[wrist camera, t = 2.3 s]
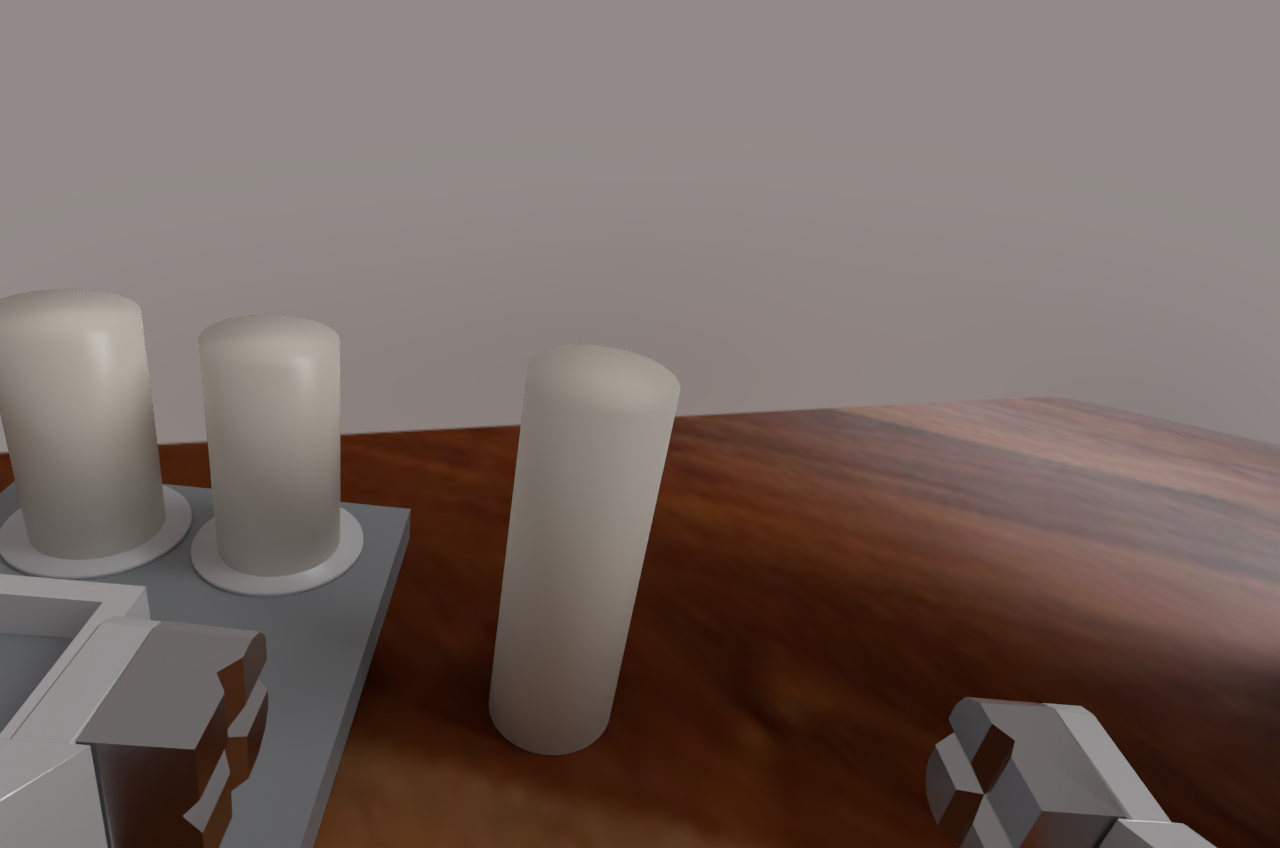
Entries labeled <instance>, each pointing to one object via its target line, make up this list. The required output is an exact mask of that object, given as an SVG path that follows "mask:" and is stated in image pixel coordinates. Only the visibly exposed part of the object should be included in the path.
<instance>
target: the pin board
mask: <svg viewBox="0 0 1280 848" xmlns="http://www.w3.org/2000/svg"><path fill="white" fill-rule="evenodd" d="M199 351H200V360H201V361H200V362H201V373H202V383H203V395H204V406H205V418H206V429H207V440H208V451H209V462H210V473H211V485H212V489H208V488H198V487H188V486H178V485H169V484H162V478H161V470H160V462H159V453H158V445H157V437H156V430H155V421H154V413H153V405H152V397H151V389H150V382H149V372H148V364H147V356H146V348H145V340H144V332H143V324H142V315H141V309H140V307H139V305H138V304H137V303H135V302H134V301H133V300H130V299H128V298H126V297H124V296H120V295H117V294H113V293H109V292H102V291H96V290H83V289H54V290H41V291H33V292H27V293H22V294H17V295H13V296H9V297H6V298H3V299H0V415H1V419H2V423H3V428H4V433H5V437H6V441H7V446H8V451H9V455H10V460H11V464H12V469H13V473H14V478H15V481H14V482H13V483H12V484H11V485H9V486H8V487H7V488H6V489H5V490H4V491H2V492H1V493H0V739H10V738H11V737H12V735H13V734H14V733H15V732H16V730H17V729H18V728H19V726H20V725H21V724H22V723H23V721H24V720H25V719H26V717H27V716H28V715H29V714H30V712H31V711H32V710H33V708H34V707H35V706H36V705H37V703H38V702H39V701H40V699H41V698H42V697H43V696H44V694H45V693H46V692H47V690H48V689H49V688H50V687H51V685H52V684H53V683H54V681H55V680H56V679H57V678H58V676H59V675H60V674H61V672H62V671H63V670H64V669H65V667H66V666H67V665H68V663H69V662H70V661H71V660H72V658H73V657H74V656H75V654H76V653H77V652H78V651H79V649H80V648H81V647H82V645H83V644H84V643H85V642H86V640H87V639H88V638H89V636H90V635H91V634H92V633H93V631H94V630H95V629H96V627H97V626H98V625H99V624H101V623H102V622H104V621H105V620H107V619H109V618H110V617H112V616H122V617H130V618H138V619H146V620H154V621H162V622H163V621H173V622H181V623H190V624H198V625H207V626H216V627H224V628H233V629H241V630H250V631H258V632H261V633H262V634H264V635H265V636H266V650H267V660H266V662H265V664H264V667H263V669H262V671H261V673H260V675H259V677H258V679H259V680H260V681H261V682H262V683H263V684H264V685H265V686H266V688H267V689H268V712H267V721H266V728H265V732H264V735H263V739H262V743H261V747H260V750H259V754H258V757H257V759H256V762H255V764H254V767H253V769H252V771H251V774H250V776H249V779H247V780H246V781H245V782H243V783H242V784H241V785H239V786H238V787H237V788H235V789H234V790H233V791H231V796H232V819H231V821H230V823H229V826H228V828H227V830H226V832H225V835H224V837H223V839H222V842H221V844H220V846H219V848H313V847H314V844H315V841H316V837H317V834H318V831H319V828H320V824H321V821H322V818H323V815H324V812H325V808H326V805H327V802H328V799H329V796H330V792H331V789H332V786H333V783H334V779H335V776H336V773H337V770H338V767H339V763H340V760H341V757H342V754H343V751H344V747H345V744H346V741H347V738H348V735H349V731H350V728H351V725H352V722H353V718H354V715H355V712H356V709H357V706H358V702H359V699H360V696H361V693H362V690H363V686H364V683H365V680H366V677H367V674H368V670H369V667H370V664H371V661H372V657H373V654H374V651H375V648H376V645H377V641H378V638H379V635H380V632H381V629H382V625H383V622H384V619H385V616H386V612H387V609H388V606H389V603H390V600H391V596H392V593H393V590H394V587H395V584H396V580H397V577H398V574H399V571H400V568H401V564H402V561H403V558H404V555H405V551H406V548H407V545H408V542H409V533H410V511H411V509H404V508H394V507H385V506H375V505H365V504H355V503H345V502H340V339H339V336H338V335H337V333H336V332H335V331H333V330H332V329H331V328H329V327H328V326H326V325H323V324H321V323H318V322H316V321H312V320H309V319H304V318H300V317H294V316H285V315H251V316H242V317H236V318H231V319H227V320H224V321H221V322H218V323H215V324H213V325H211V326H209V327H208V328H207V329H205V330H204V331H203V332H202V333H201V334H200V336H199Z"/></svg>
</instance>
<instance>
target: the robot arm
mask: <svg viewBox="0 0 1280 848" xmlns="http://www.w3.org/2000/svg"><path fill="white" fill-rule="evenodd" d="M266 660H267V650H266V636H265V635H264V634H262V633H261V632H258V631H250V630H241V629H233V628H224V627H216V626H207V625H198V624H190V623H181V622H173V621H163V622H162V621H154V620H146V619H138V618H130V617H122V616H112V617H110V618H109V619H107V620H105V621H104V622H102V623H101V624H99V625H98V626H97V627H96V629H95V630H94V631H93V633H92V634H91V635H90V636H89V638H88V639H87V640H86V642H85V643H84V644H83V645H82V647H81V648H80V649H79V651H78V652H77V653H76V654H75V656H74V657H73V658H72V660H71V661H70V662H69V663H68V665H67V666H66V667H65V669H64V670H63V671H62V672H61V674H60V675H59V676H58V678H57V679H56V680H55V681H54V683H53V684H52V685H51V687H50V688H49V689H48V690H47V692H46V693H45V694H44V696H43V697H42V698H41V699H40V701H39V702H38V703H37V705H36V706H35V707H34V708H33V710H32V711H31V712H30V714H29V715H28V716H27V717H26V719H25V720H24V721H23V723H22V724H21V725H20V726H19V728H18V729H17V730H16V732H15V733H14V734H13V735H12V737H11V738H10V739H0V848H219V846H220V844H221V842H222V839H223V837H224V835H225V832H226V830H227V828H228V826H229V823H230V821H231V819H232V796H231V791H233V790H234V789H235V788H237V787H238V786H239V785H241V784H242V783H243V782H245V781H246V780H247V779H249V776H250V774H251V771H252V769H253V767H254V764H255V762H256V759H257V757H258V754H259V750H260V747H261V743H262V739H263V735H264V732H265V728H266V721H267V712H268V689H267V688H266V686H265V685H264V684H263V683H262V682H261V681H260V680H259V679H258V677H259V675H260V673H261V671H262V669H263V667H264V664H265V662H266ZM948 720H949V723H950V725H951V728H952V730H953V733H952V734H951V735H949V736H948V737H946V738H945V739H943V740H942V741H940V742H939V743H937V744H936V745H935V747H934V749H933V751H932V753H931V756H930V758H929V760H928V763H927V768H926V792H927V797H928V802H929V806H930V809H931V811H932V813H933V816H934V818H935V821H936V823H937V825H938V826H939V827H940V828H941V829H942V830H943V831H944V832H945V833H946V834H947V835H948V836H949V837H950V838H952V839H953V840H954V841H955V842H956V843H957V846H956V848H1217V847H1215V846H1214V845H1212V844H1211V843H1210V842H1208V841H1207V840H1206V839H1204V838H1203V837H1201V836H1200V835H1199V834H1197V833H1196V832H1195V831H1193V830H1192V829H1190V828H1189V827H1188V826H1186V825H1185V824H1182V823H1172V822H1171V821H1170V819H1169V818H1168V817H1167V815H1166V814H1165V812H1164V811H1163V810H1162V808H1161V807H1160V806H1159V804H1158V803H1157V801H1156V800H1155V799H1154V797H1153V796H1152V795H1151V793H1150V792H1149V790H1148V789H1147V788H1146V786H1145V785H1144V783H1143V782H1142V781H1141V779H1140V778H1139V777H1138V775H1137V774H1136V772H1135V771H1134V770H1133V768H1132V767H1131V766H1130V764H1129V763H1128V761H1127V760H1126V759H1125V757H1124V756H1123V755H1122V753H1121V752H1120V750H1119V749H1118V748H1117V746H1116V745H1115V743H1114V742H1113V741H1112V739H1111V738H1110V737H1109V735H1108V734H1107V732H1106V731H1105V730H1104V728H1103V727H1102V726H1101V724H1100V723H1099V721H1098V720H1097V719H1096V717H1095V716H1094V715H1093V714H1092V713H1090V712H1089V711H1088V710H1086V709H1085V708H1083V707H1082V706H1074V705H1061V704H1049V703H1042V704H1039V703H1034V702H1022V701H1010V700H998V699H986V698H973V697H965V698H964V699H962V700H961V701H960V702H958V703H957V704H956V705H955V707H954V709H953V711H952V713H951V715H950V717H949V718H948Z"/></svg>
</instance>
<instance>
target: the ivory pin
mask: <svg viewBox="0 0 1280 848" xmlns="http://www.w3.org/2000/svg"><path fill="white" fill-rule="evenodd" d="M679 394H680V384H679V382H678V380H677V379H676V377H675V376H674V375H673V374H672V373H671V372H670V371H669V370H668V369H667V368H665V367H664V366H662V365H660V364H659V363H657V362H655V361H653V360H651V359H649V358H647V357H644V356H641V355H639V354H636V353H633V352H630V351H626V350H622V349H618V348H613V347H607V346H600V345H587V344H574V345H563V346H557V347H552V348H548V349H545V350H543V351H541V352H539V353H537V354H536V355H534V356H533V357H532V358H531V360H530V361H529V364H528V369H527V378H526V387H525V395H524V403H523V412H522V420H521V429H520V437H519V446H518V455H517V463H516V472H515V480H514V489H513V498H512V506H511V515H510V523H509V532H508V541H507V549H506V558H505V566H504V575H503V584H502V592H501V601H500V609H499V618H498V627H497V635H496V644H495V652H494V661H493V670H492V678H491V687H490V695H489V713H490V716H491V719H492V721H493V723H494V725H495V727H496V728H497V730H498V731H499V732H500V733H501V734H502V736H503V737H505V738H506V739H507V740H508V741H509V742H511V743H512V744H514V745H516V746H517V747H520V748H522V749H524V750H527V751H529V752H533V753H537V754H543V755H564V754H569V753H573V752H576V751H579V750H582V749H584V748H586V747H588V746H589V745H591V744H592V743H594V742H595V741H596V740H597V739H598V738H599V737H600V736H601V735H602V733H603V732H604V730H605V729H606V727H607V725H608V722H609V718H610V714H611V709H612V705H613V700H614V695H615V691H616V686H617V681H618V677H619V672H620V667H621V663H622V658H623V654H624V649H625V644H626V640H627V635H628V630H629V626H630V621H631V616H632V612H633V607H634V603H635V598H636V593H637V589H638V584H639V579H640V575H641V570H642V565H643V561H644V556H645V552H646V547H647V542H648V538H649V533H650V528H651V524H652V519H653V514H654V510H655V505H656V501H657V496H658V491H659V487H660V482H661V477H662V473H663V468H664V463H665V459H666V454H667V449H668V445H669V440H670V436H671V431H672V426H673V422H674V417H675V412H676V408H677V403H678V398H679Z"/></svg>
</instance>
